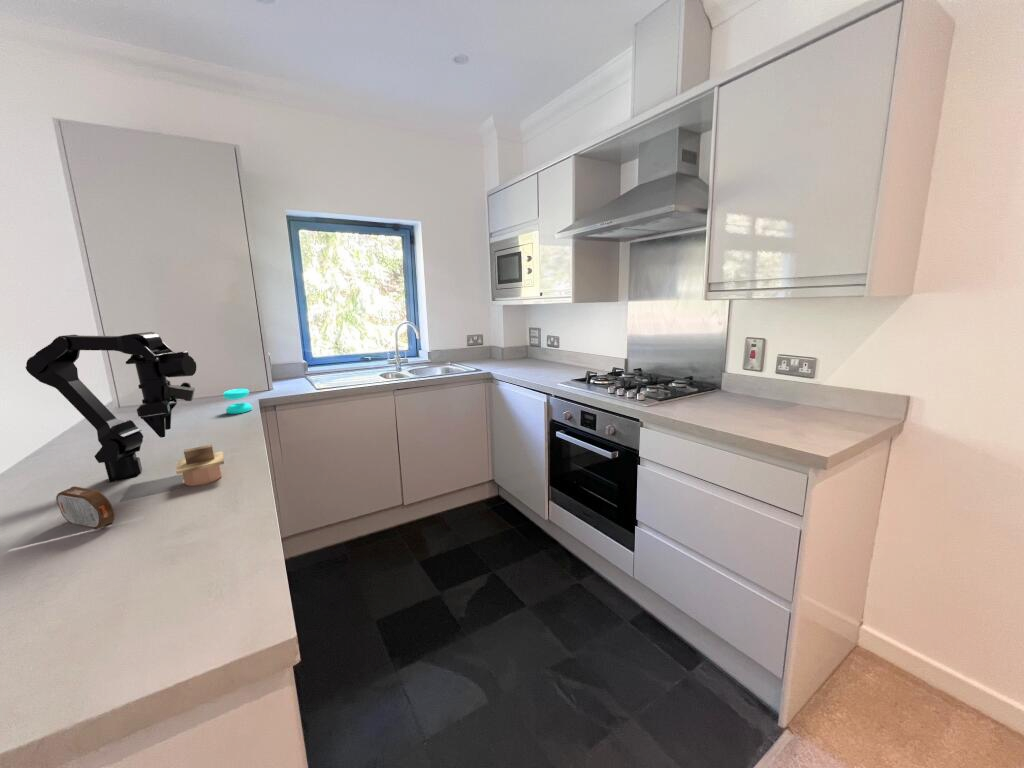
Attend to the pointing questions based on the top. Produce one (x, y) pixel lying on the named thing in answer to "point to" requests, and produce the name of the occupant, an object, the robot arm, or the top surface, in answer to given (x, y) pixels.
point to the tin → (85, 507)
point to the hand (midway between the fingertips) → (165, 433)
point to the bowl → (202, 476)
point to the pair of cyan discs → (237, 407)
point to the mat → (153, 487)
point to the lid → (199, 459)
